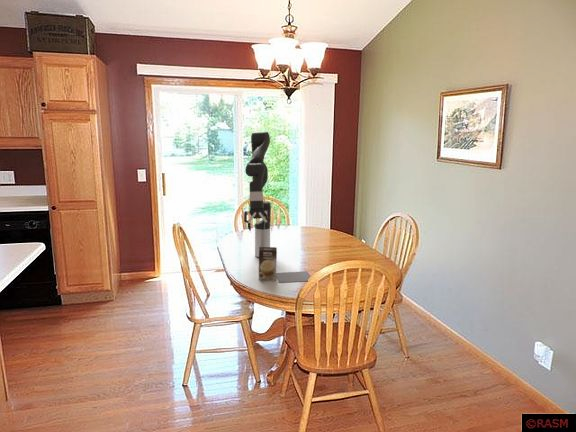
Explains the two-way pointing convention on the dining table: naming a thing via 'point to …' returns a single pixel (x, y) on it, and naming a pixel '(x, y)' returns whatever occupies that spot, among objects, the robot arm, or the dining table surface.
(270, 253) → the coffee box
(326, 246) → the dining table surface
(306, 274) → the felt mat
